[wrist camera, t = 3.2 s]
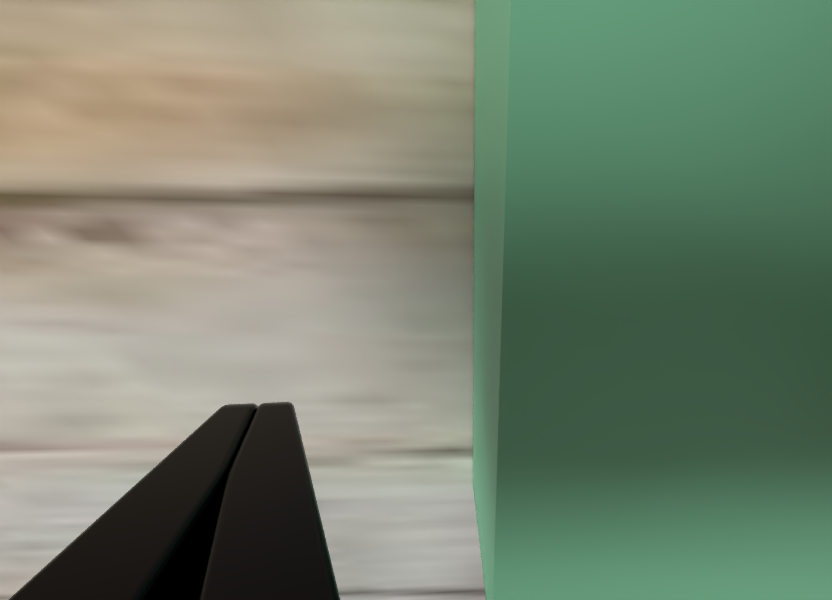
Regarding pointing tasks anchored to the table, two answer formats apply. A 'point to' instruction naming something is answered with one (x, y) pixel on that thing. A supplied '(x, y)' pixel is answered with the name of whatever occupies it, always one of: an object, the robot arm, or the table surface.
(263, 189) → the table surface
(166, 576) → the robot arm
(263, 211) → the table surface
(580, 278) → the block
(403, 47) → the table surface
